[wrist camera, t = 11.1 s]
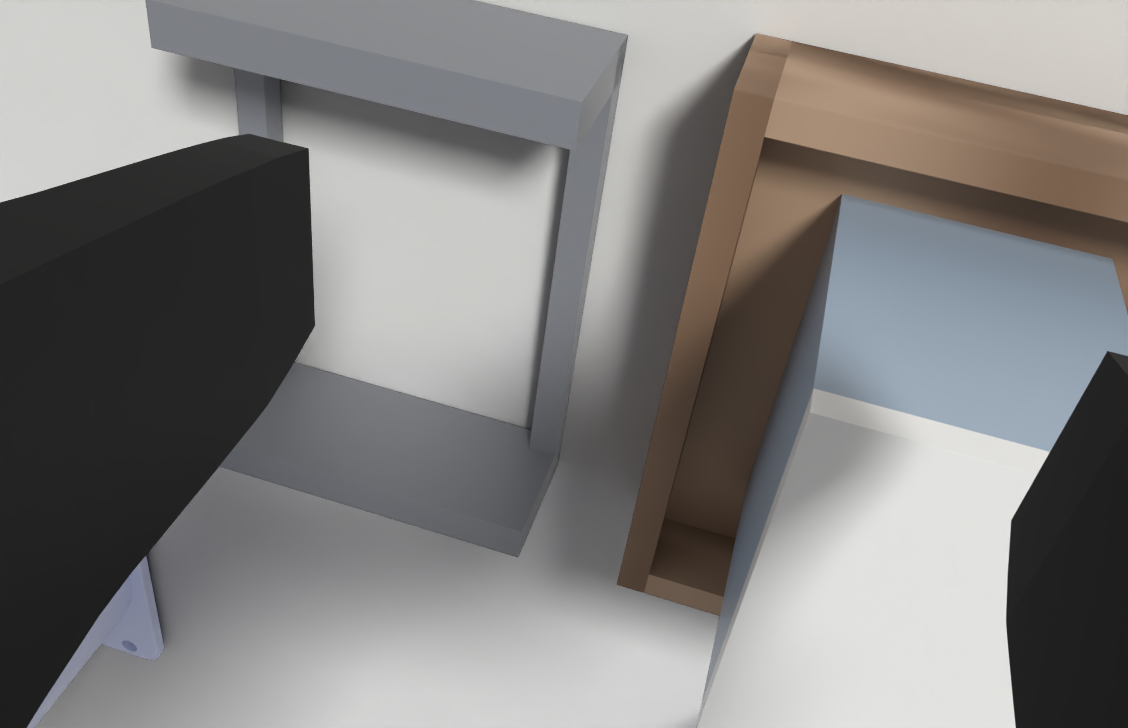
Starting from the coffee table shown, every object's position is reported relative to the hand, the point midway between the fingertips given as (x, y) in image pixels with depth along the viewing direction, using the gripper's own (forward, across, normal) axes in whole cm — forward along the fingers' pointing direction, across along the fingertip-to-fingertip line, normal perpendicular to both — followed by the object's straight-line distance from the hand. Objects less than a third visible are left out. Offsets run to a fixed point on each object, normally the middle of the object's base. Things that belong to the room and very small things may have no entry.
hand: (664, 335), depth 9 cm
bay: (+9, +6, +6) cm, 13 cm away
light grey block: (+9, -4, +6) cm, 11 cm away
